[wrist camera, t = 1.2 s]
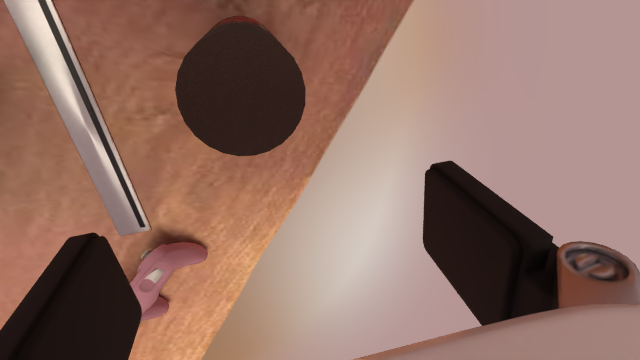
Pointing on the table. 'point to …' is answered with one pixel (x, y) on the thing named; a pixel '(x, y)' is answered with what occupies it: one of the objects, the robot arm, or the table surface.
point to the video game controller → (162, 274)
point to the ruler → (78, 109)
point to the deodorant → (240, 89)
